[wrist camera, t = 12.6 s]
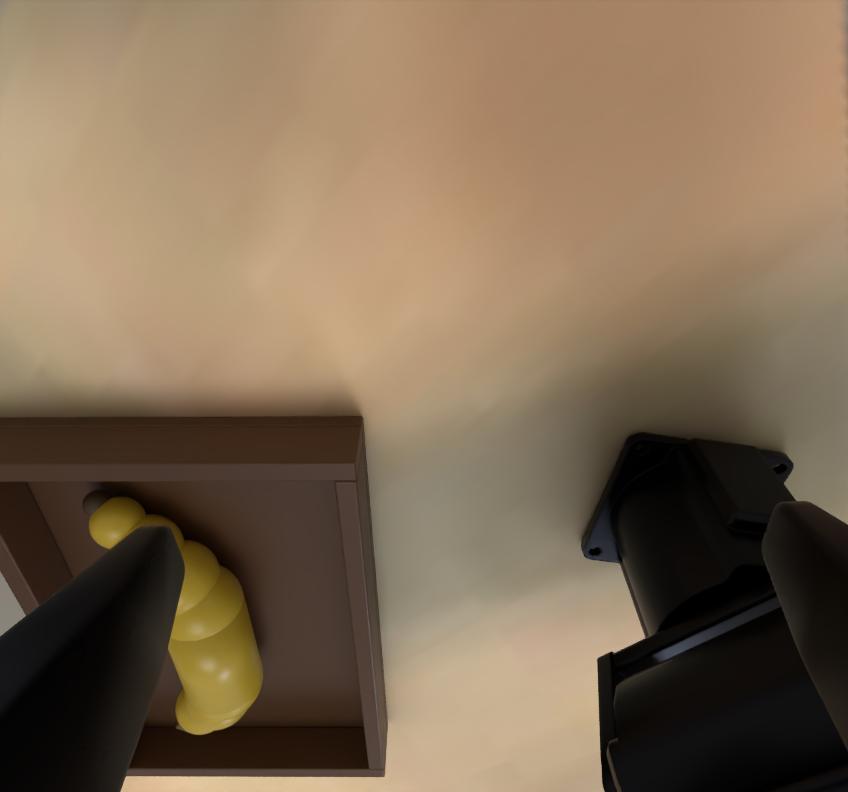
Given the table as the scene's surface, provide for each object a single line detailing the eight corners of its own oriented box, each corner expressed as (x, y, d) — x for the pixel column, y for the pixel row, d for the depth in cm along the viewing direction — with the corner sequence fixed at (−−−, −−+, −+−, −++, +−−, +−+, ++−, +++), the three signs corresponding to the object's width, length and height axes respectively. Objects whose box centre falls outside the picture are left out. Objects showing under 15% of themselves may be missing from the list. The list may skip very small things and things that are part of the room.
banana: (283, 702, 32) (269, 770, 29) (179, 702, 32) (154, 770, 29) (229, 480, 23) (201, 546, 20) (88, 481, 23) (40, 546, 20)
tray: (388, 724, 34) (384, 777, 31) (139, 723, 34) (117, 776, 31) (362, 415, 22) (355, 463, 20) (-11, 417, 22) (-63, 464, 20)
